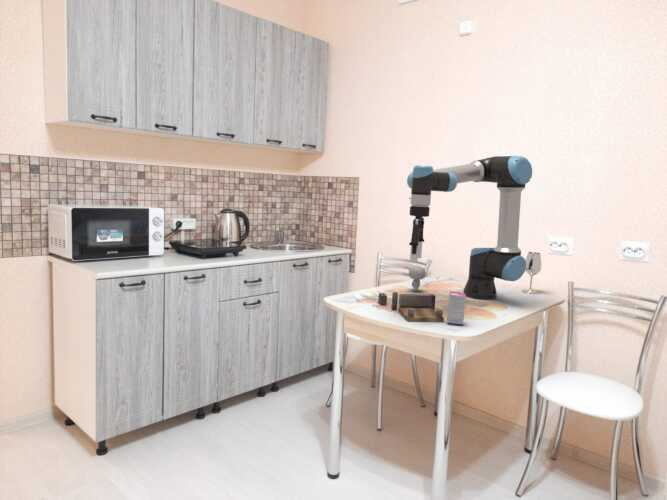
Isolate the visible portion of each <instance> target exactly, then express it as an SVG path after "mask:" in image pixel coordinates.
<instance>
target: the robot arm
mask: <svg viewBox="0 0 667 500" xmlns="http://www.w3.org/2000/svg"><path fill="white" fill-rule="evenodd" d="M532 177H533V167H532V164H531V162H530V161H529V159H528V158H527V157H525V156H521V155H520V156H519V155H504V156H503V155H499V156H490V157H486V158H482V159H478V160H473V161H472V162H470V163H467V164H461V165H455V166H449V167H444V168H443V167H442V168H436V169H435V168H434V167H433V166H432V165H421V164H419V165H414V166H413V169H412V172H410V173H409V174H408V175H407V178H406V183H407V186H408V188H410V189H411V192H410V193H411V195H410V196H409V198H408V199H409V200H410V207H409V216H412V217H414V219H413V220H412V221H413V222H412V232H411V239H410V242H409V246H411V247H410V255H409V263H413V264H414V263H415V264H418V259H422V253H423V252H422V251H423V243H425V239H424V225H425V218H426V217H427V218H428V217H429V216H430V211H431V209H430V206H431V199H432V192H441V193H442V192H445V193H448V192H453V191H455V189H456V188H457V186H458V184H462V183H467V182H469V183H470V182H473V183H481V182H482V183H494V184H495V183H496V189H498V190H499V206H498V207H499V208H498V222H497V223H498V225H497V241H496V242H497V243H496V244H497V245H496V246H494V247H474V248H471V250H470V255H469V267H468V268H469V269H468V278H467V281H466V283H465V285H464V288H463V292H462V293H465V295H466V298H467V297H468V298H472V299H478V300H495V299H497V298H498V297H497V296H498V292H497V289H496V287H497V286H496V284H495V283H496V282H495V279H500V280H503V281H505V282H507V281H508V282H516V281H518V280H519V279H521V277H523V275H524V273H525V272H526V271H525V269H526V258H525V257H524V256H522V250H521V249H520V248H519V245H518V244H519V230H520V217H521V216H520V214H521V201H522V200H521V199H522V191H524V190H525V189H526V184H529V182H530V181H531V179H532ZM424 217H425V218H424Z"/></svg>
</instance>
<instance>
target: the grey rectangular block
mask: <svg viewBox="0 0 667 500" xmlns="http://www.w3.org/2000/svg"><path fill="white" fill-rule="evenodd" d="M436 296H437V295H436V294H434V293H426V294H425V293H398V303H397V309H399V308H433V309H434V310H435V309H436V299H437V298H436ZM435 311H436V310H435Z"/></svg>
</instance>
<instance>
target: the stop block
mask: <svg viewBox="0 0 667 500" xmlns="http://www.w3.org/2000/svg"><path fill="white" fill-rule="evenodd" d="M377 303H378V305H380V306H387V305H388V296H387V294H386V293H385V292H384V293H382V292H379V293H378V302H377Z"/></svg>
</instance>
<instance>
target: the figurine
mask: <svg viewBox="0 0 667 500" xmlns="http://www.w3.org/2000/svg"><path fill="white" fill-rule="evenodd" d="M408 276H409V278H410V279H412V282H411V287H412V288H413V291H414V293H415V292H418V290H419V288H420V286H421V280H423V279H424V278H425V276H426V269H425V267H422V266H418V265H415V266H414V265H413V266H411V267H410V268H409V270H408Z"/></svg>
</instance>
